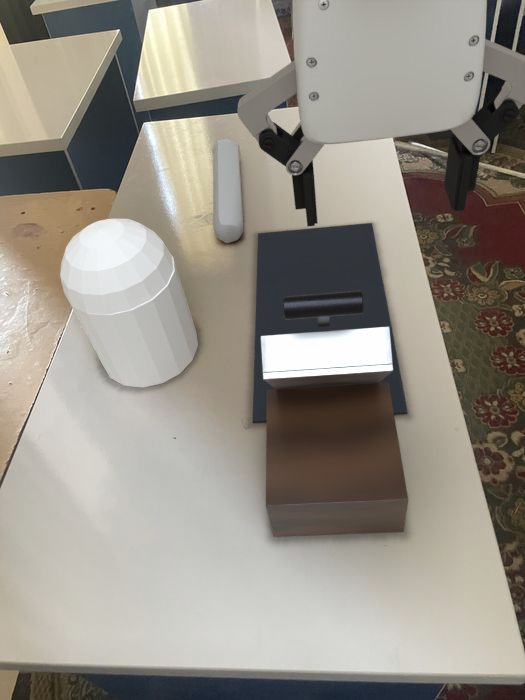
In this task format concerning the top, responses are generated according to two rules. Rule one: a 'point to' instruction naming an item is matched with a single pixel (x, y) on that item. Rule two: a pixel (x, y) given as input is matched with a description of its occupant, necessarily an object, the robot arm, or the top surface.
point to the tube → (227, 191)
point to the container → (129, 301)
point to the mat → (319, 291)
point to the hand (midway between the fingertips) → (381, 206)
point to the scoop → (326, 346)
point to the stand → (333, 461)
